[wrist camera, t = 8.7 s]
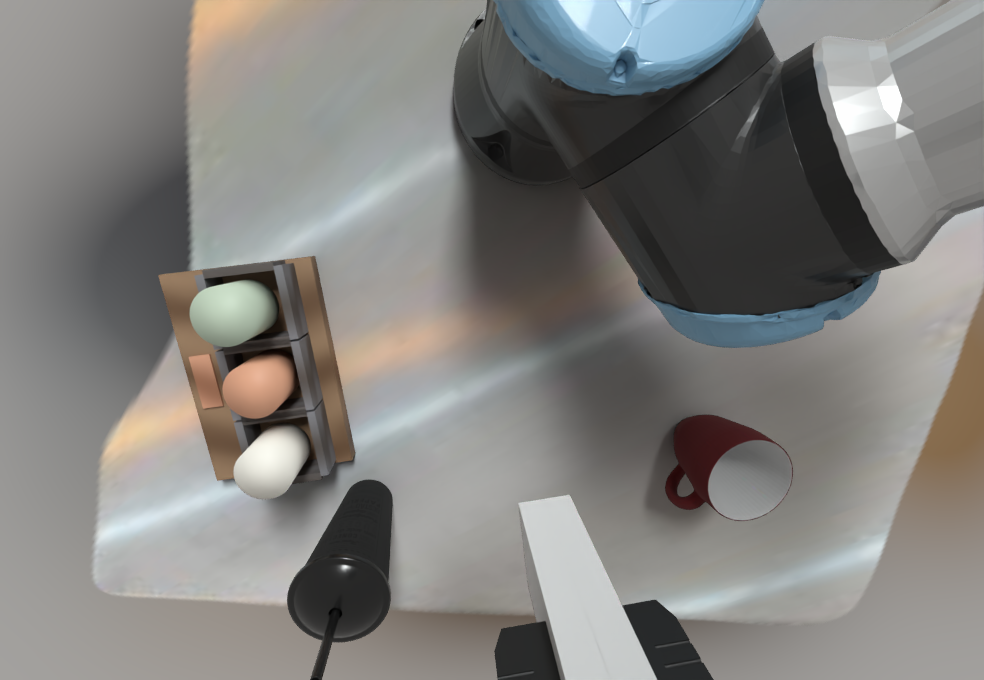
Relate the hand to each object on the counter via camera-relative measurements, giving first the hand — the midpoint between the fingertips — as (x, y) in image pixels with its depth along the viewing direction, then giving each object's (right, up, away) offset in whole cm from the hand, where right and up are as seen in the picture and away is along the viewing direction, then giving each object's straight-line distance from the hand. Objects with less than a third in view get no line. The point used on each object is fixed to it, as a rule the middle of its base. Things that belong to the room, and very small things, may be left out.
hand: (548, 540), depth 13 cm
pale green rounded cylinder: (-22, +9, +25) cm, 35 cm away
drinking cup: (-15, -11, +35) cm, 39 cm away
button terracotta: (-21, +3, +28) cm, 36 cm away
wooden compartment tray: (-23, +3, +30) cm, 38 cm away
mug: (+19, -5, +37) cm, 42 cm away
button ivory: (-21, -4, +28) cm, 35 cm away
